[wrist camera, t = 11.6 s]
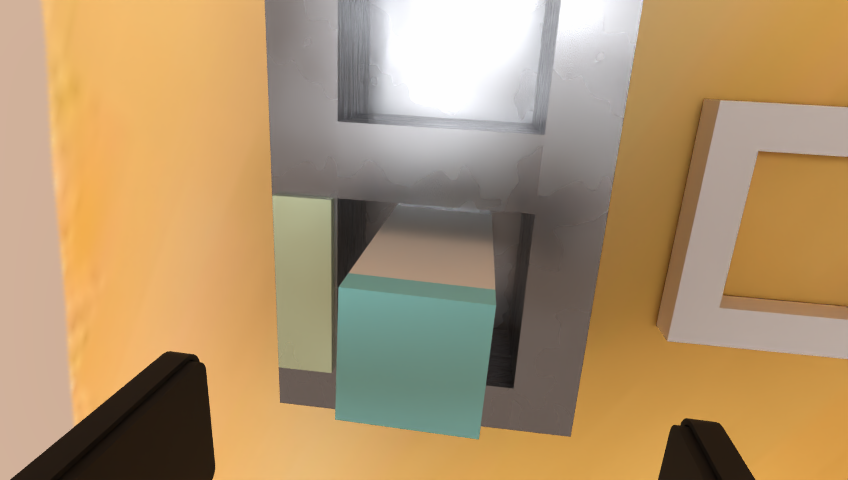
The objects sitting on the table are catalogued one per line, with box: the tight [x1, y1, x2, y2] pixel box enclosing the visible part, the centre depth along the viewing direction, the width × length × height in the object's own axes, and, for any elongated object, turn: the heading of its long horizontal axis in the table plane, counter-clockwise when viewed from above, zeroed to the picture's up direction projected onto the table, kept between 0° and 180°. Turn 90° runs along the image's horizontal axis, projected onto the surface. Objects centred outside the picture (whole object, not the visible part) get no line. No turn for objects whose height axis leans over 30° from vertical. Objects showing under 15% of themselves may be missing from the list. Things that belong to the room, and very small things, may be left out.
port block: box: [265, 0, 643, 437], centre depth 19 cm, size 11×19×6 cm, turn 177°
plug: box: [335, 205, 496, 439], centre depth 18 cm, size 4×4×9 cm
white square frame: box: [656, 99, 848, 359], centre depth 21 cm, size 10×10×2 cm
